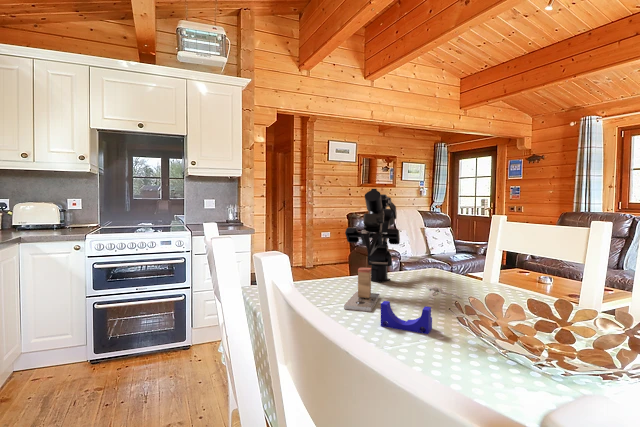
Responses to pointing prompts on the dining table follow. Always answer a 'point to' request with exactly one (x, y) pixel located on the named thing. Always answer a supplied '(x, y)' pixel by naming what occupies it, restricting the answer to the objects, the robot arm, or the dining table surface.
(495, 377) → the dining table surface
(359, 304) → the flange plate
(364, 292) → the marker post
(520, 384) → the dining table surface
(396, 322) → the blue cradle bracket
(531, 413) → the dining table surface
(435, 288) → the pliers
